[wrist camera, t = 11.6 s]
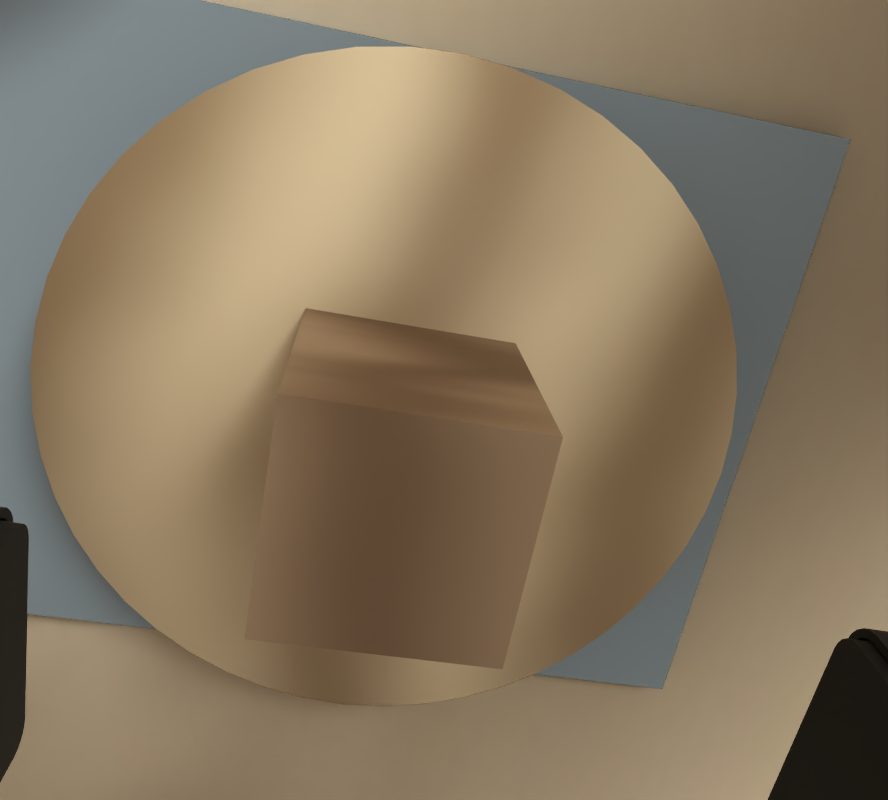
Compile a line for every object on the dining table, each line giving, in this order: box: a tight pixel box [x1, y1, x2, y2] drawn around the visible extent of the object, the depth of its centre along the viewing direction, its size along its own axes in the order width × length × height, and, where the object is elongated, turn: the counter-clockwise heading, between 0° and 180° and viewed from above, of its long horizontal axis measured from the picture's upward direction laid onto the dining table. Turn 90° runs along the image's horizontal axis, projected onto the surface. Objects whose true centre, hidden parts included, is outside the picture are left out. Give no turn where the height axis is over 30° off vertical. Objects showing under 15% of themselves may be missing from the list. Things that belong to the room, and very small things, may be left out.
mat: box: [0, 0, 851, 689], centre depth 20 cm, size 18×15×1 cm
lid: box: [31, 47, 737, 706], centre depth 17 cm, size 15×15×7 cm
